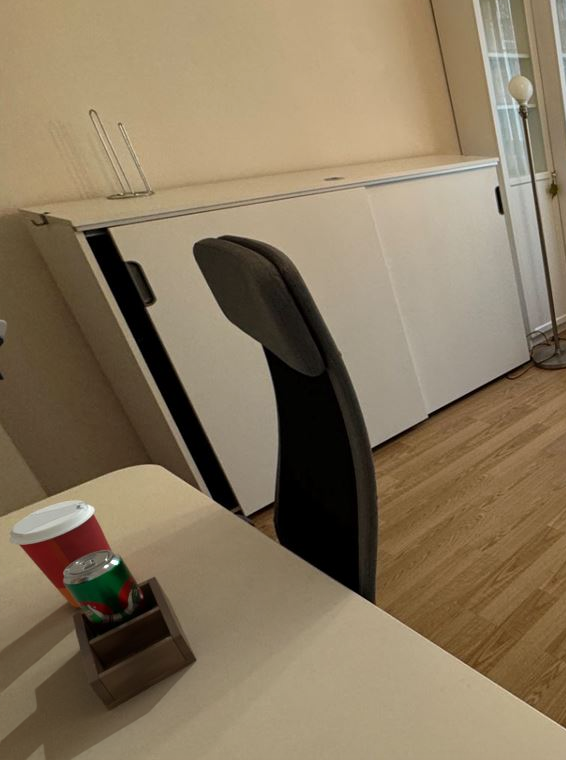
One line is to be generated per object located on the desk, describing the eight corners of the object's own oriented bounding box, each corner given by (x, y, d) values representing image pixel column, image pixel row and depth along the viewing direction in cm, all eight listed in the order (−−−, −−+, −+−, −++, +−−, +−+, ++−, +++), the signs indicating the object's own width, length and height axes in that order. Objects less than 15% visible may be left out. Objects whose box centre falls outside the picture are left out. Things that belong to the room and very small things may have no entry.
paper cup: (135, 563, 86) (91, 490, 80) (135, 591, 80) (88, 515, 75) (61, 592, 81) (8, 517, 75) (56, 624, 76) (-1, 546, 70)
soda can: (153, 608, 76) (112, 541, 72) (163, 626, 74) (121, 558, 69) (102, 634, 73) (55, 566, 68) (110, 654, 70) (62, 585, 65)
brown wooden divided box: (108, 711, 65) (88, 684, 63) (89, 641, 73) (71, 615, 71) (197, 660, 70) (181, 634, 68) (169, 601, 79) (154, 576, 77)
